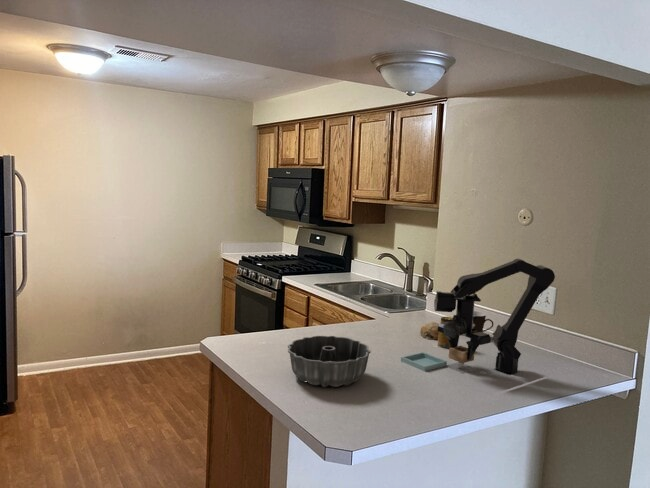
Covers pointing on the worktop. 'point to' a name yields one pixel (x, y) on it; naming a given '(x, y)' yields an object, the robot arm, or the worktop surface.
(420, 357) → the tray
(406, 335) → the worktop surface
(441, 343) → the condiment
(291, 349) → the bundt pan
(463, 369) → the gray plate with knob
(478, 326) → the coffee mug
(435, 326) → the bread roll
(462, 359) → the ring
